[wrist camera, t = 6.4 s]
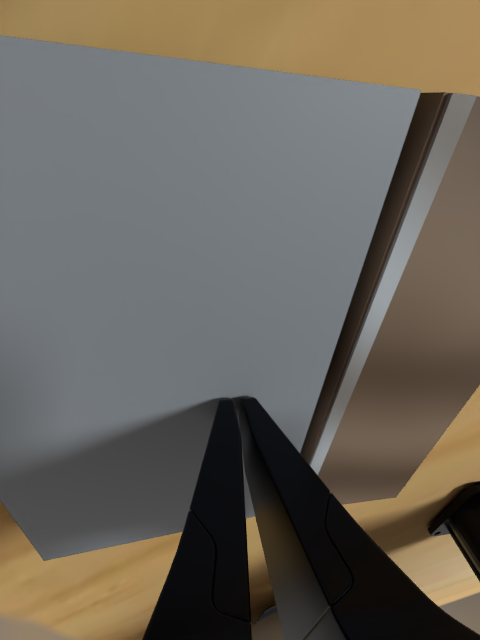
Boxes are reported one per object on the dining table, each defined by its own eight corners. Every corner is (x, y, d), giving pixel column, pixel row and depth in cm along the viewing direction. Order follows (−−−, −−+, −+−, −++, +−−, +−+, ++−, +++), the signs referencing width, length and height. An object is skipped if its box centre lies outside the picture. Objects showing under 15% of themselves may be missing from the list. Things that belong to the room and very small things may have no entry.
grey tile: (273, 485, 16) (280, 510, 15) (51, 527, 13) (43, 560, 12) (381, 91, 7) (421, 90, 6) (-254, 11, 4) (-371, -13, 3)
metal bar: (381, 470, 17) (397, 499, 16) (281, 481, 16) (290, 514, 15) (602, 117, 8) (681, 120, 6) (399, 93, 7) (447, 92, 6)
